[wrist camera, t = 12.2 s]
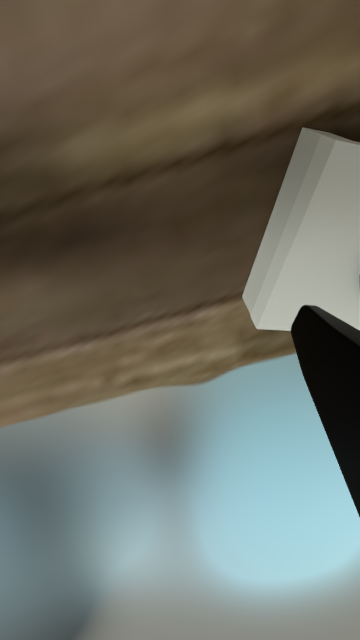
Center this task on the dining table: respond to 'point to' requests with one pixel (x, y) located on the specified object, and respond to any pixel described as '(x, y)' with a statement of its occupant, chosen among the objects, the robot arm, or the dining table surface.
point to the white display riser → (311, 237)
